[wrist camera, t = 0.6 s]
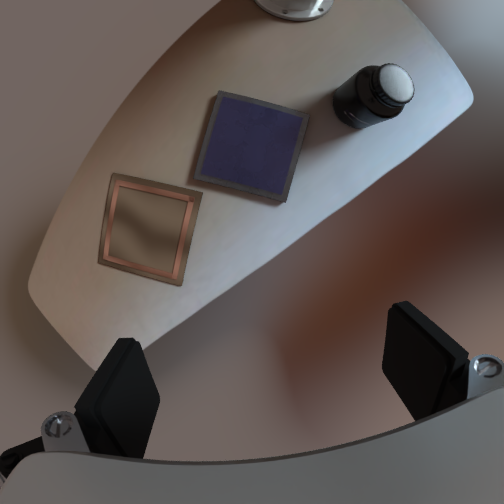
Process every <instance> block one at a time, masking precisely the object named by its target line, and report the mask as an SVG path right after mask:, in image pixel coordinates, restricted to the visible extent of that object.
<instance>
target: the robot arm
mask: <svg viewBox="0 0 504 504" xmlns="http://www.w3.org/2000/svg"><path fill="white" fill-rule="evenodd" d="M254 1H255V2H256V3H257V5H258V6H260V7H261V8H262V9H263V10H265V11H266V12H268V13H270V14H272V15H274V16H277V17H280V18H283V19H288V20H294V21H307V20H313V19H317V18H319V17H322V16H323V15H325V14H326V13H327V12H328V11H329V10H330V8H331V6H332V4H333V0H254ZM468 354H469V353H468V352H467V351H466V350H465V349H464V348H462V346H460V345H459V344H458V343H457V342H456V341H455V340H454V339H452V338H451V337H450V336H449V335H448V334H447V333H445V332H444V331H443V330H442V329H441V328H440V327H438V326H437V325H436V324H435V323H434V322H433V321H431V320H430V319H429V318H428V317H427V316H425V315H424V314H423V313H422V312H421V311H419V310H418V309H417V308H416V307H415V306H413V305H412V304H411V303H409V302H408V301H403V302H399V303H395V304H393V305H392V308H390V309H389V310H388V319H387V330H386V338H385V347H384V355H383V361H382V370H383V373H384V374H385V376H386V377H387V379H388V380H389V382H390V383H391V385H392V386H393V388H394V389H395V391H396V392H397V394H398V395H399V397H400V398H401V400H402V401H403V403H404V404H405V406H406V407H407V409H408V411H409V412H410V414H411V415H412V417H413V418H414V420H415V422H412V423H409V424H407V425H404V426H401V427H399V428H396V429H393V430H390V431H387V432H384V433H380V434H377V435H374V436H371V437H367V438H364V439H361V440H356V441H353V442H349V443H345V444H341V445H337V446H332V447H328V448H323V449H318V450H313V451H308V452H302V453H296V454H290V455H283V456H275V457H267V458H257V459H247V460H231V461H199V462H198V461H166V460H151V459H143V457H144V453H145V450H146V447H147V443H148V440H149V436H150V433H151V430H152V426H153V423H154V420H155V416H156V413H157V410H158V407H159V403H160V396H159V393H158V390H157V388H156V385H155V383H154V380H153V378H152V375H151V373H150V370H149V367H148V365H147V362H146V359H145V357H144V353H143V350H142V347H141V345H140V343H139V342H138V341H136V340H135V339H134V338H119V339H118V340H117V341H116V343H115V344H114V346H113V347H112V349H111V350H110V352H109V353H108V355H107V356H106V358H105V359H104V361H103V362H102V364H101V365H100V367H99V368H98V370H97V371H96V373H95V374H94V376H93V377H92V379H91V381H90V382H89V384H88V385H87V387H86V388H85V390H84V392H83V393H82V395H81V396H80V398H79V399H78V401H77V403H76V405H75V406H74V407H75V409H76V412H75V413H74V414H72V413H70V412H67V411H61V412H56V413H54V414H52V415H50V416H49V417H47V418H46V419H45V421H44V422H43V423H42V426H41V435H42V436H41V437H38V438H36V439H34V440H31V441H28V442H26V443H23V444H21V445H18V446H16V447H13V448H10V449H8V450H6V451H4V452H3V453H2V455H1V456H0V504H504V363H503V361H502V360H500V359H499V358H498V357H495V356H493V355H488V354H482V355H478V356H476V357H474V358H473V359H472V360H471V361H470V360H469V359H467V358H468Z"/></svg>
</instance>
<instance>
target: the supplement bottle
mask: <svg viewBox="0 0 504 504" xmlns="http://www.w3.org/2000/svg"><path fill="white" fill-rule="evenodd" d="M413 95H414V85H413V82H412V79H411V78H410V76H409V74H407V72H406V71H405V70H404V69H403V68H401V67H400V66H397V65H396V64H393V63H392V64H390V63H388V64H384V65H381V66H367V67H364V68H362V69H361V70H359V71H358V72H357V73H356V74H354V75H353V76H352V77H351V78H349V79H348V80H347V81H346V82H345V83H343V84H342V85H341V86H340V87H339V88H338V89H337V90H336V92H335V93H334V96H333V108H334V111H335V113H336V115H337V116H338V118H339V119H340V120H341V121H342V122H343V123H344V124H346V125H348V126H350V127H353V128H358V129H361V128H366V127H369V126H372V125H374V124H377V123H380V122H383V121H386V120H389V119H392V118H394V117H396V116H398V115H399V114H400V113H401V112H402V110H403V108H404V106H405V104H406V103H408V102H410V100H412V97H413Z"/></svg>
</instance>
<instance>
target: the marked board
mask: <svg viewBox="0 0 504 504" xmlns="http://www.w3.org/2000/svg"><path fill="white" fill-rule="evenodd" d="M202 194H203V192H198V191H194V190H190V189H186V188H182V187H177V186H173V185H169V184H164V183H160V182H155V181H151V180H146V179H141V178H137V177H132V176H127V175H122V174H117V173H113V174H112V179H111V184H110V189H109V194H108V199H107V204H106V210H105V216H104V223H103V229H102V237H101V244H100V253H99V263H102V264H105V265H108V266H112V267H115V268H118V269H122V270H125V271H129V272H132V273H135V274H139V275H142V276H146V277H150V278H153V279H157V280H160V281H164V282H168V283H171V284H175V285H179V286H182V283H183V278H184V273H185V268H186V263H187V258H188V254H189V249H190V245H191V240H192V236H193V231H194V227H195V223H196V219H197V214H198V210H199V206H200V202H201V198H202Z"/></svg>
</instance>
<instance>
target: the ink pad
mask: <svg viewBox="0 0 504 504" xmlns="http://www.w3.org/2000/svg"><path fill="white" fill-rule="evenodd" d="M309 116H310V115H308V114H305V113H302V112H299V111H296V110H293V109H290V108H286V107H283V106H279V105H276V104H272V103H269V102H265V101H261V100H258V99H254V98H250V97H246V96H242V95H237V94H233V93H228V92H224V91H219V92H218V95H217V98H216V101H215V104H214V107H213V110H212V114H211V117H210V120H209V124H208V127H207V130H206V134H205V137H204V141H203V144H202V148H201V151H200V155H199V159H198V162H197V166H196V170H195V174H194V177H193V179H197V180H201V181H206V182H210V183H214V184H218V185H222V186H226V187H230V188H234V189H238V190H241V191H245V192H249V193H253V194H257V195H260V196H264V197H268V198H271V199H275V200H278V201H282V202H285V203H286V200H287V197H288V193H289V190H290V186H291V182H292V179H293V175H294V172H295V168H296V164H297V161H298V157H299V153H300V150H301V146H302V142H303V139H304V135H305V131H306V127H307V124H308V120H309Z"/></svg>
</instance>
